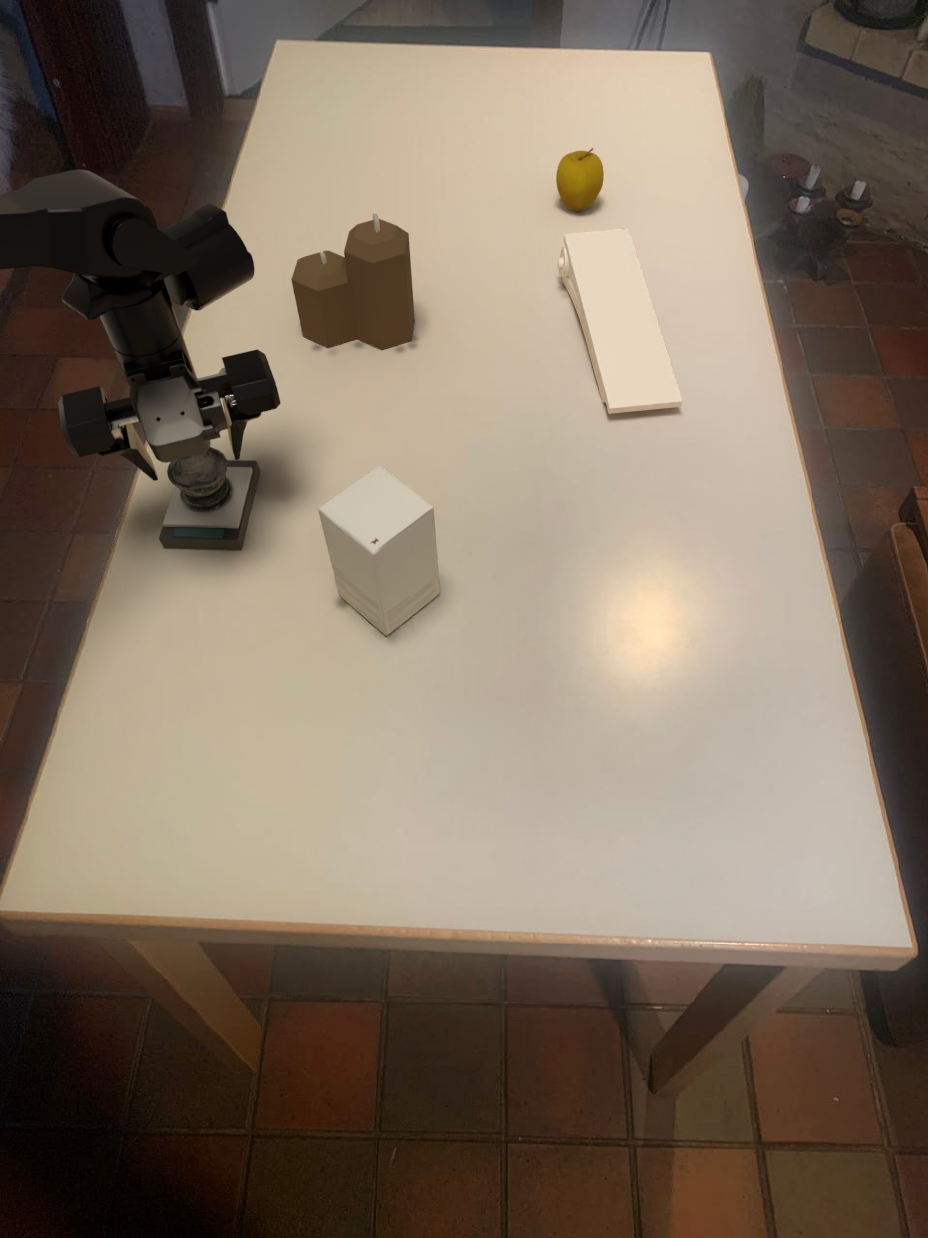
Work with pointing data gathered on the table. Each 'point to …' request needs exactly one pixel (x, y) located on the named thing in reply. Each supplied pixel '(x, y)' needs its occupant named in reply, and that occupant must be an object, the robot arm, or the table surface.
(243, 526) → the kitchen scale
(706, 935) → the table surface
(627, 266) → the wall bracket
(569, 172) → the apple
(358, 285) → the candle
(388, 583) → the white packaging box
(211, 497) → the pepper mill
